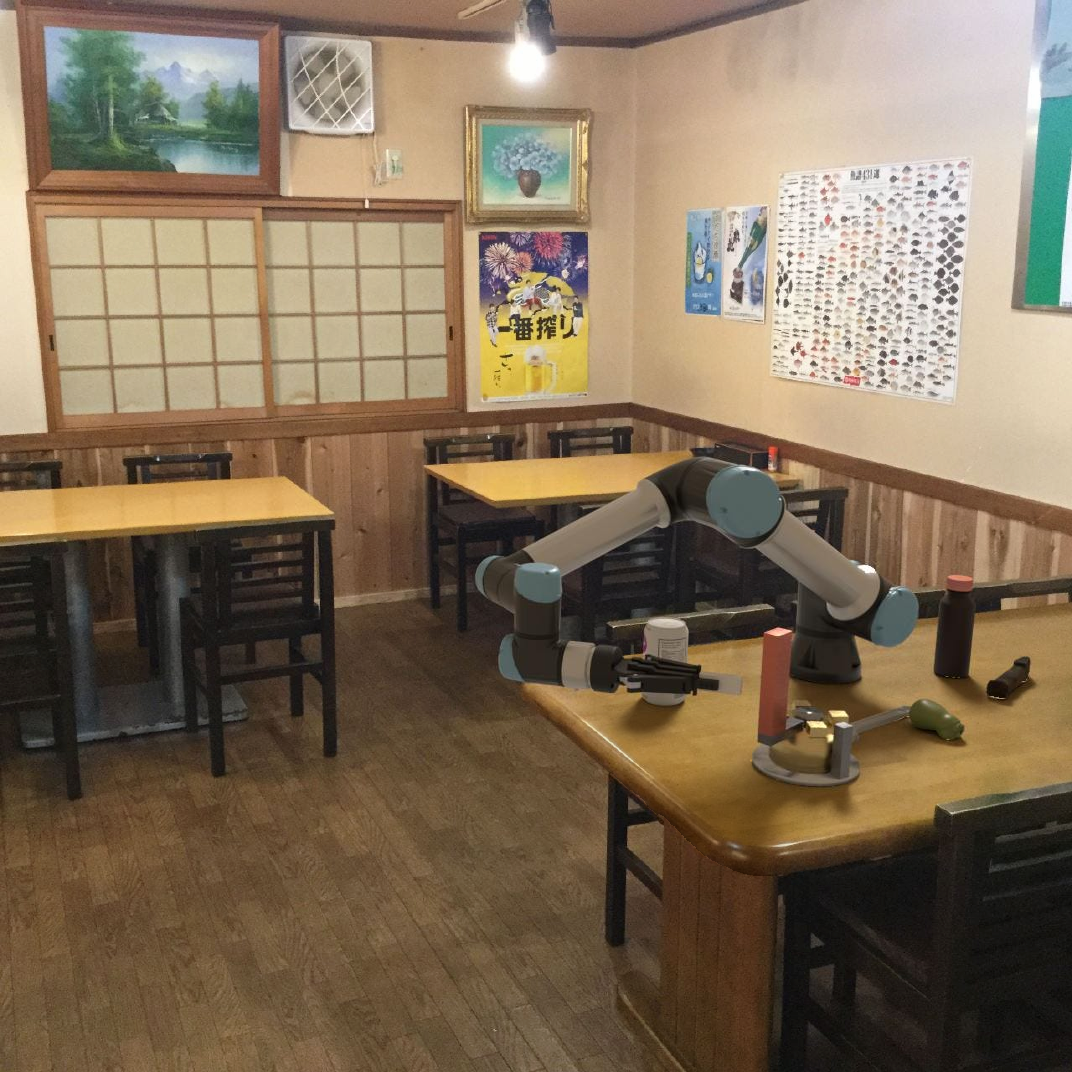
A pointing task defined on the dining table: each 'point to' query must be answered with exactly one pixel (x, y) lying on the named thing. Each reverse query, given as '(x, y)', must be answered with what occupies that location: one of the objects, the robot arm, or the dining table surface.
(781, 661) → the toy block assembly
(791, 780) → the spindle base
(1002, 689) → the dark brown bar
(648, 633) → the supplement can
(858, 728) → the adjustable wrench
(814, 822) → the dining table surface
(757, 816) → the dining table surface
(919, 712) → the pear
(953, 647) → the bottle
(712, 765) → the dining table surface
